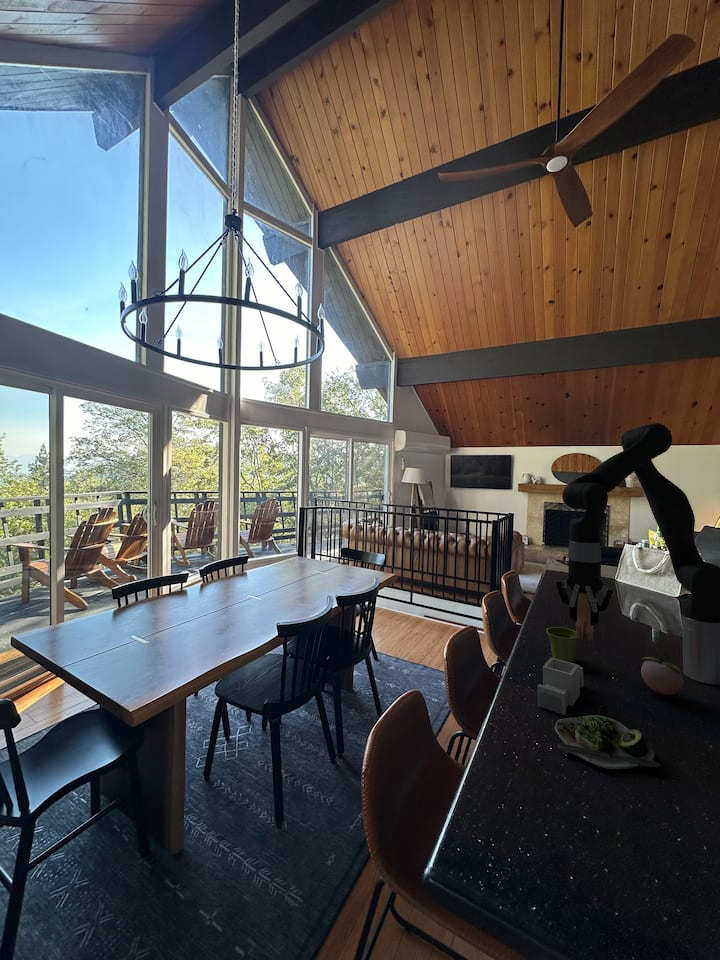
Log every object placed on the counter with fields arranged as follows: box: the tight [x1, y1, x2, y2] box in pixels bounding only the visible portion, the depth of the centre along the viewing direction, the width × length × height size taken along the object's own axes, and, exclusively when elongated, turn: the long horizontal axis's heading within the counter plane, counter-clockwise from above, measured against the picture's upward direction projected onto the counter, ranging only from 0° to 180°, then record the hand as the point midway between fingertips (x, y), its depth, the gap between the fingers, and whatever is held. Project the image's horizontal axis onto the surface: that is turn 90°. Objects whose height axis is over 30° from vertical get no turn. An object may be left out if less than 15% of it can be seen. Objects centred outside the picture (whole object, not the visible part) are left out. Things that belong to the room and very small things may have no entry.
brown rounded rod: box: [575, 592, 594, 641], centre depth 106 cm, size 4×4×12 cm
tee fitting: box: [536, 657, 584, 716], centre depth 107 cm, size 7×18×8 cm, turn 138°
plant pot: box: [545, 626, 579, 663], centre depth 129 cm, size 9×9×9 cm
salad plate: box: [553, 714, 662, 770], centre depth 87 cm, size 19×18×5 cm
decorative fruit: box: [640, 656, 685, 696], centre depth 107 cm, size 9×8×10 cm
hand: (584, 622), depth 106 cm, fingers closed on brown rounded rod, 4 cm apart
